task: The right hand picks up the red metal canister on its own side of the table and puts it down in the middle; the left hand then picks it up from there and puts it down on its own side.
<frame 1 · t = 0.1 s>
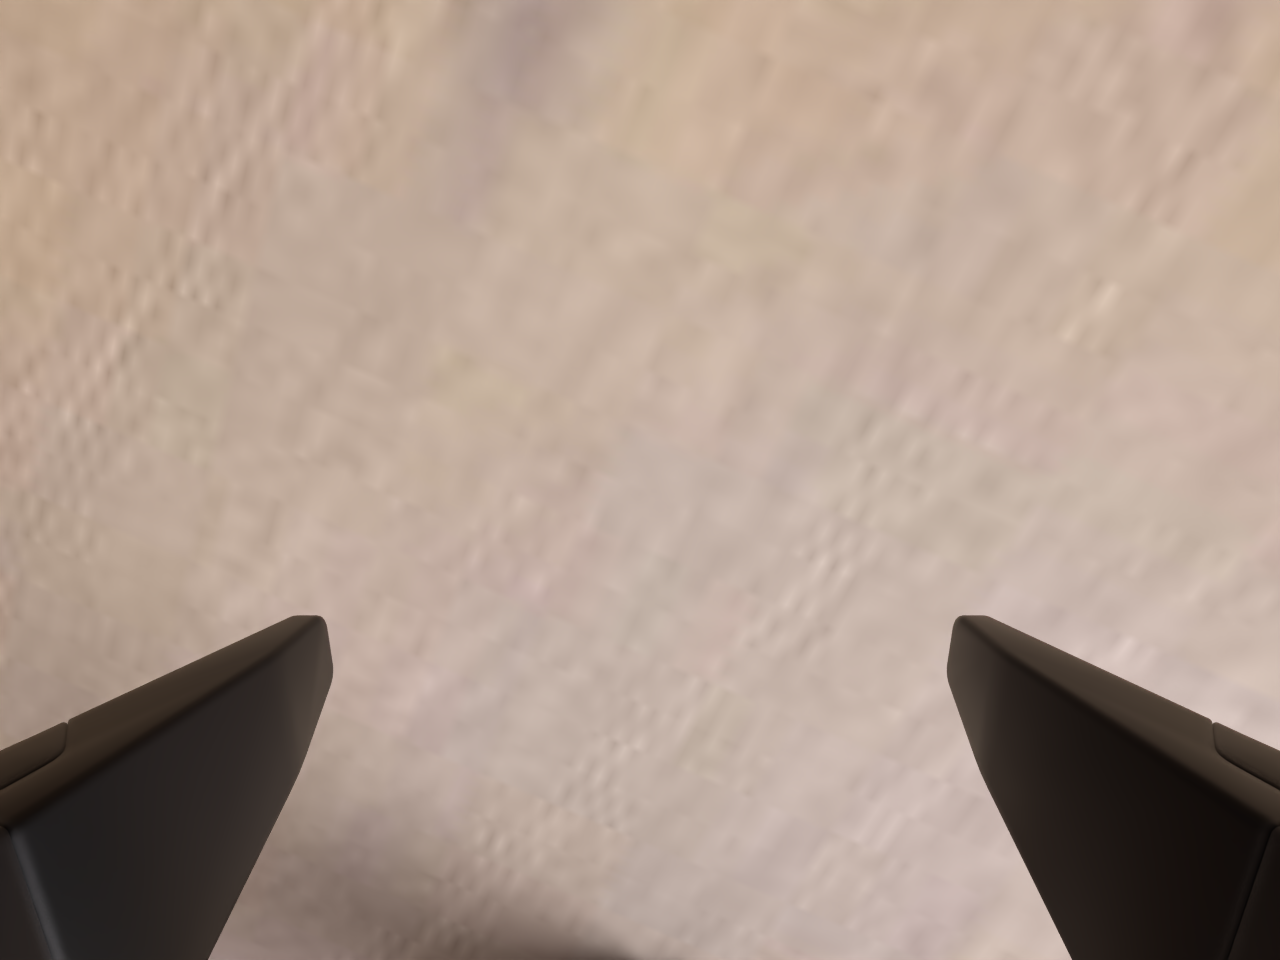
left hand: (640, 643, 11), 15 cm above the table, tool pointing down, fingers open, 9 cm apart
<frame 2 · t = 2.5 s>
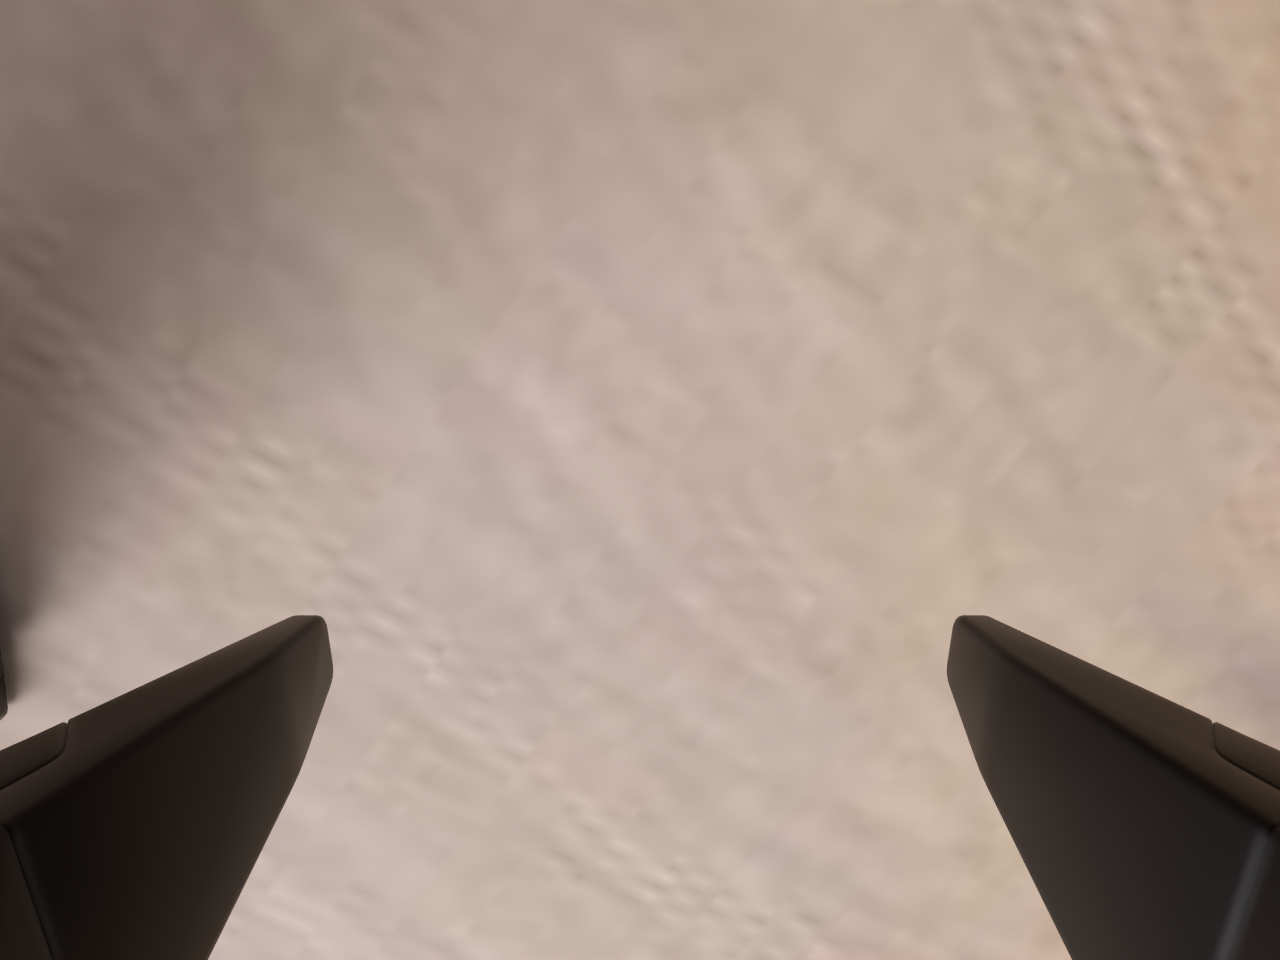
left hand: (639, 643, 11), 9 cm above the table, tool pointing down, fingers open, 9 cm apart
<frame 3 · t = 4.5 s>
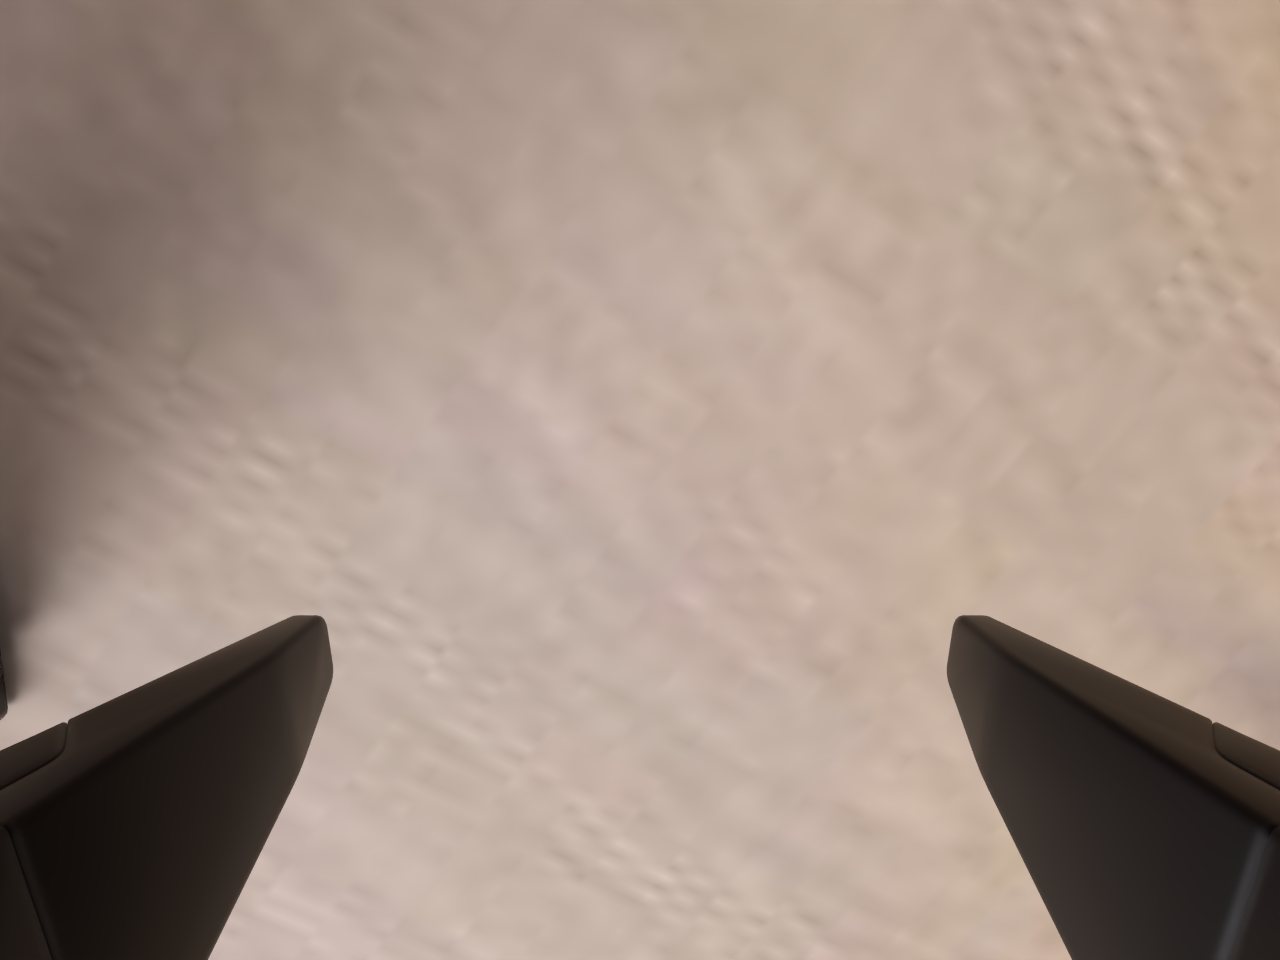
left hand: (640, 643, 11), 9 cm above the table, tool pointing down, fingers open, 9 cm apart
when the right hand's fingers open (2 cm above the table, at t = 6.4 s): canister stays where it is, on the table.
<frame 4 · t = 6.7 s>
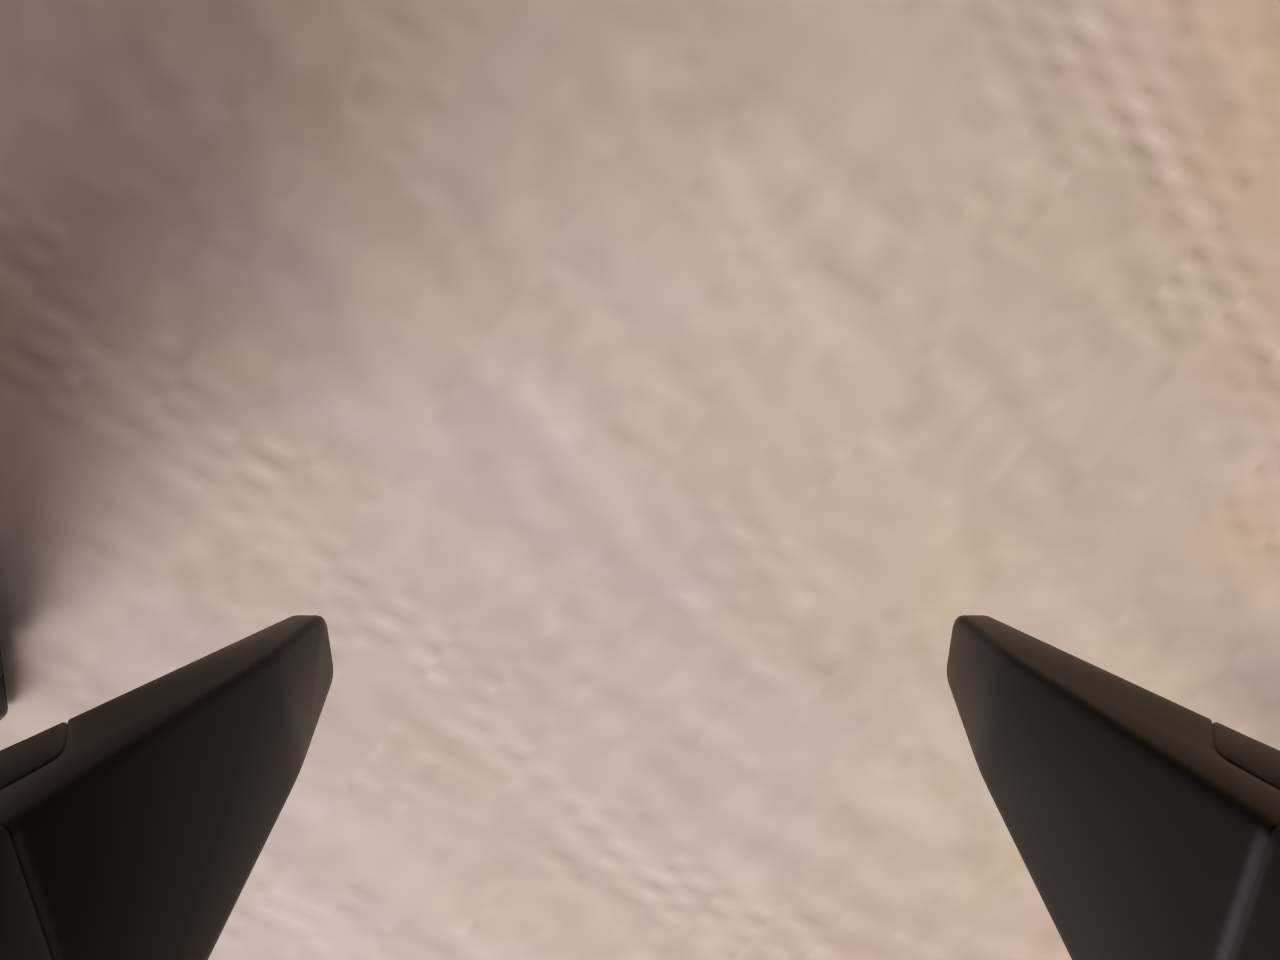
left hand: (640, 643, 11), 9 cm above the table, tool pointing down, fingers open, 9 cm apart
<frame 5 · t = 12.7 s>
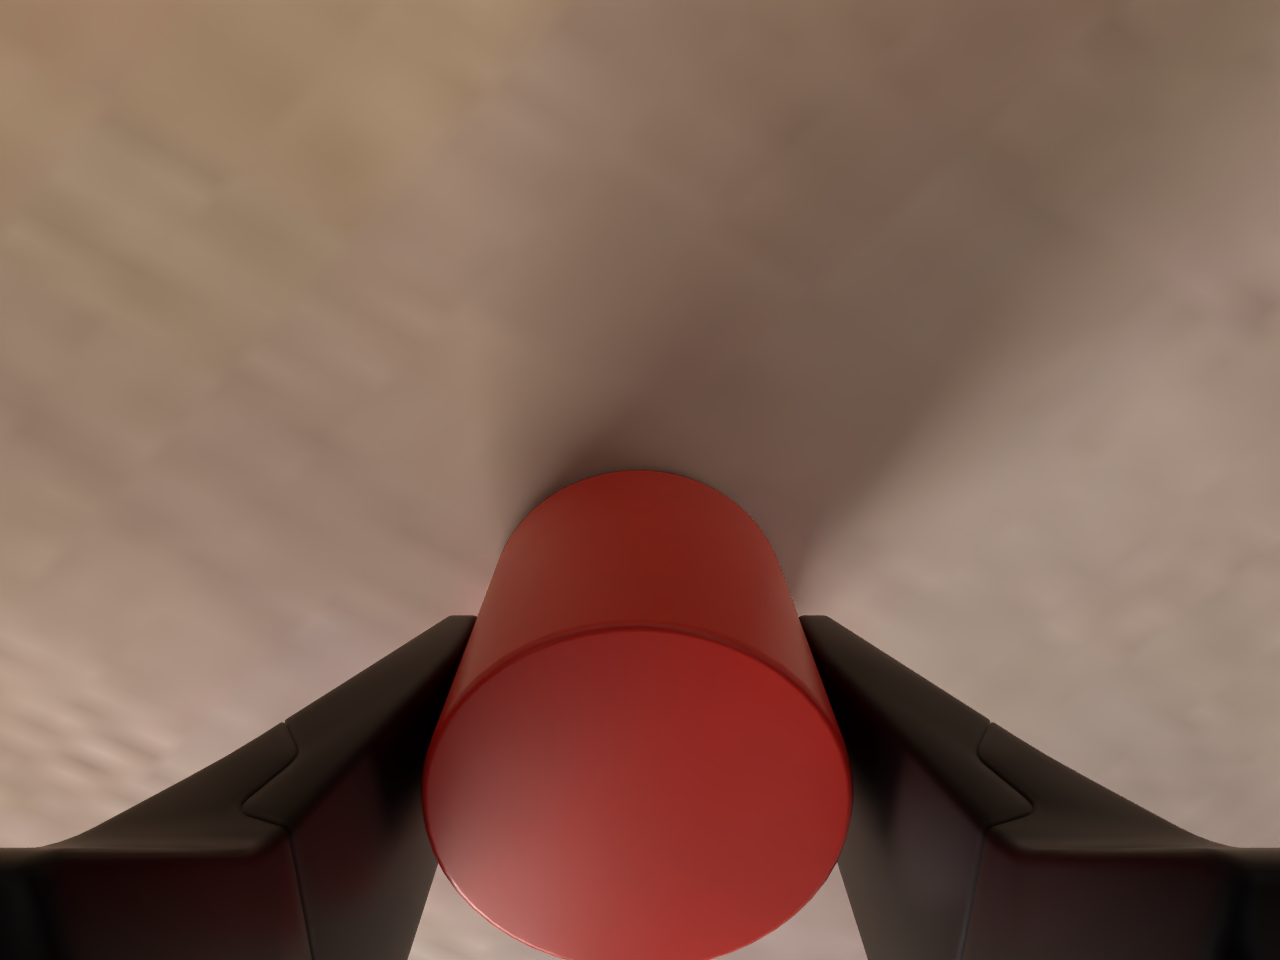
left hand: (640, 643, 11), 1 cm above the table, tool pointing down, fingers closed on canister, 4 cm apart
canister: (638, 605, 12), on the table, touching left hand
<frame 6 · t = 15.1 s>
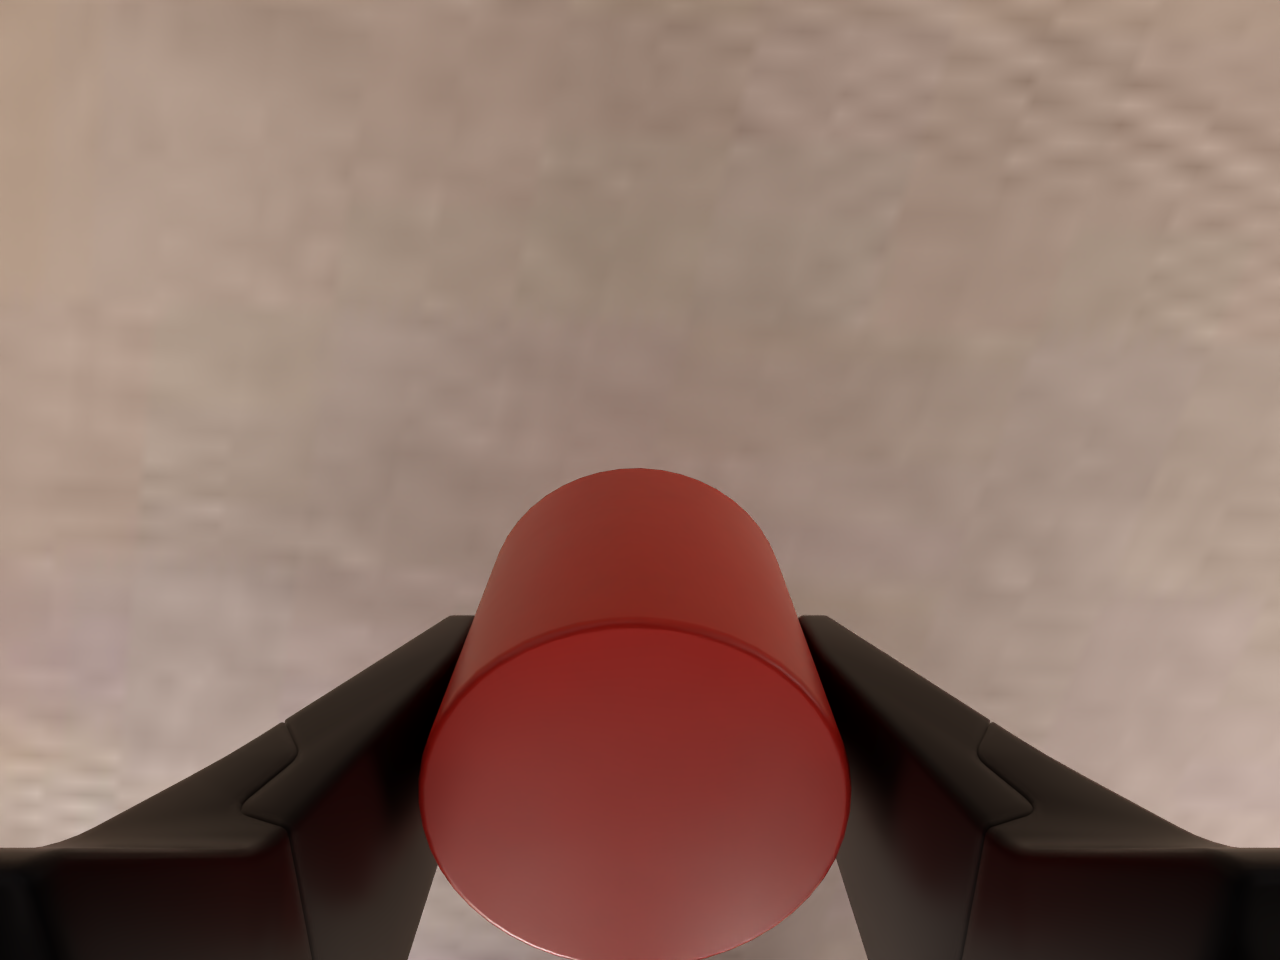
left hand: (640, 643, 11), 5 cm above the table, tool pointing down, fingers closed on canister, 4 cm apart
canister: (636, 603, 12), point 4 cm above the table, touching left hand
when the left hand's fingers open (2 cm above the table, at t = 17.4 s): canister stays where it is, on the table.
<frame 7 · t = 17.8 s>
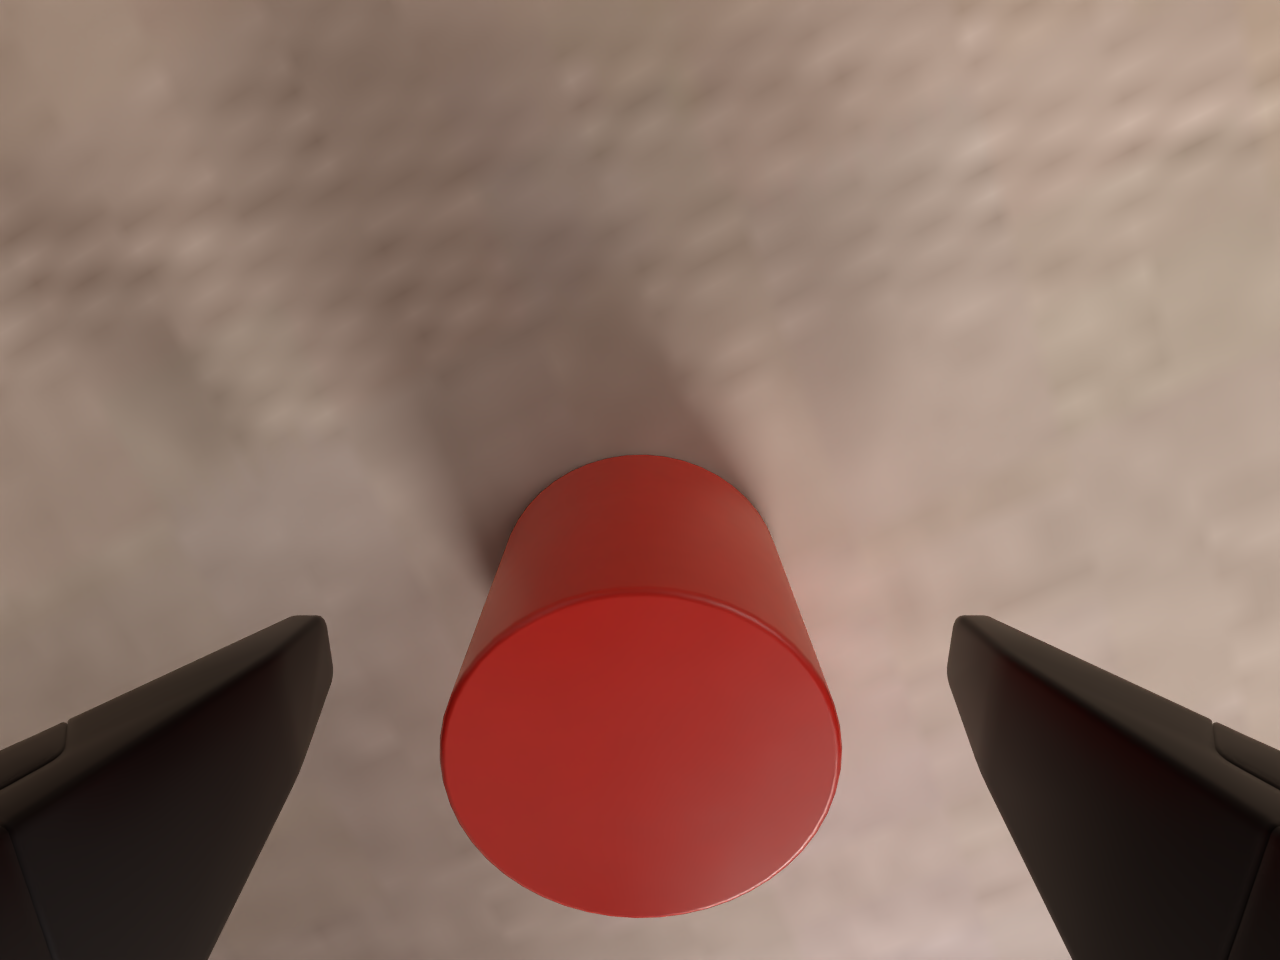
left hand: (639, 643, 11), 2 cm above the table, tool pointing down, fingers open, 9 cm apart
canister: (640, 584, 13), on the table
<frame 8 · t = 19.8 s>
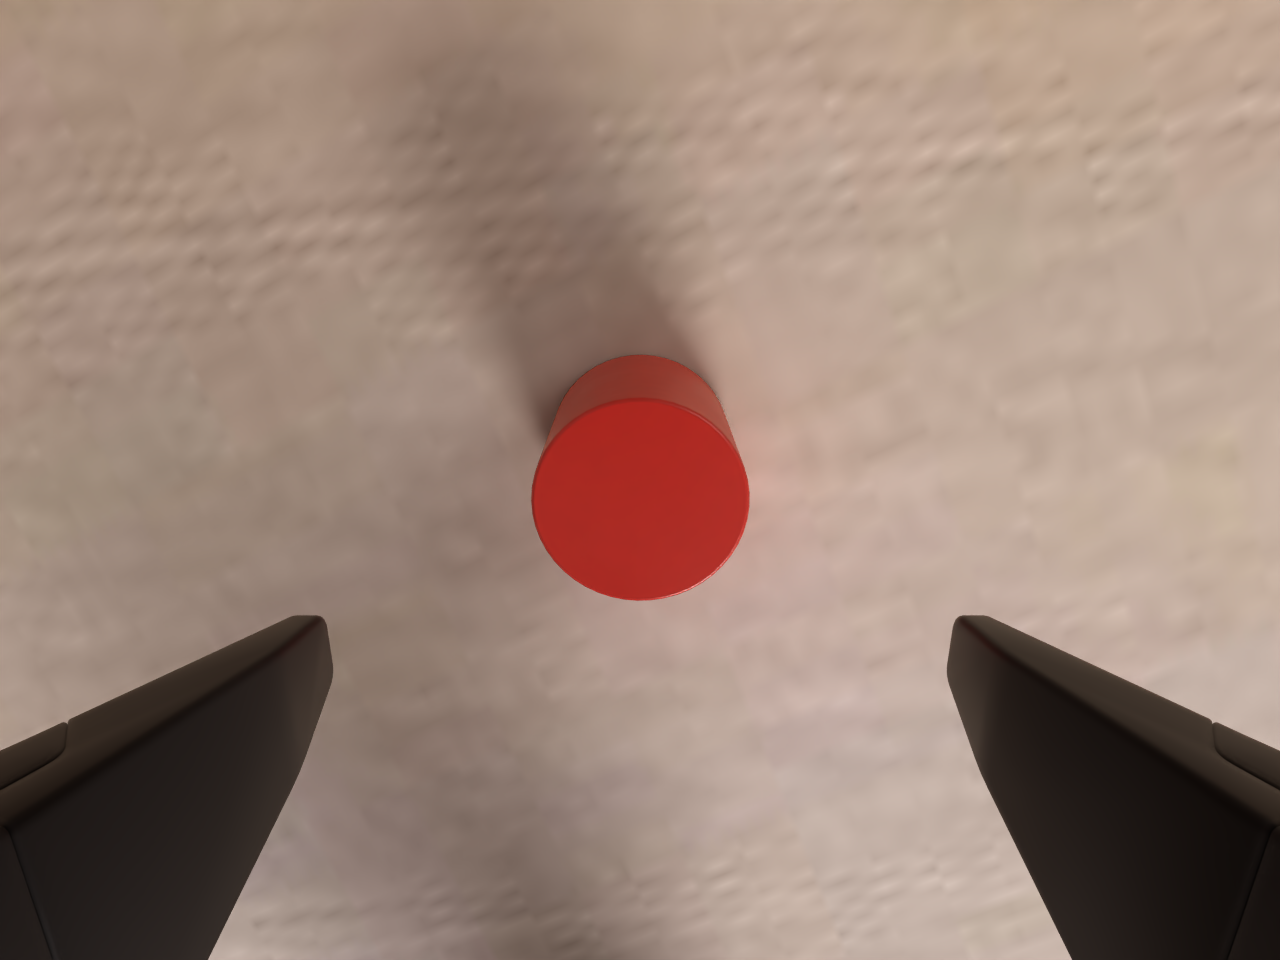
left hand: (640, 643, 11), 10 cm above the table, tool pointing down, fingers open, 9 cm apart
canister: (640, 441, 21), on the table
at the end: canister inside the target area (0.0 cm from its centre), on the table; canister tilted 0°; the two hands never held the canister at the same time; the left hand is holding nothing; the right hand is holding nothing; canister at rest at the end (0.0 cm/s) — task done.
